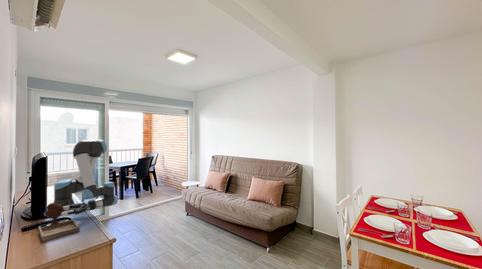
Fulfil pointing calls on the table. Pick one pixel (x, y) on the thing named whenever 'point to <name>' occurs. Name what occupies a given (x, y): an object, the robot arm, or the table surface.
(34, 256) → the table surface
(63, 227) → the light brown wooden tray
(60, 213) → the ice cream bowl
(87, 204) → the robot arm
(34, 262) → the table surface
